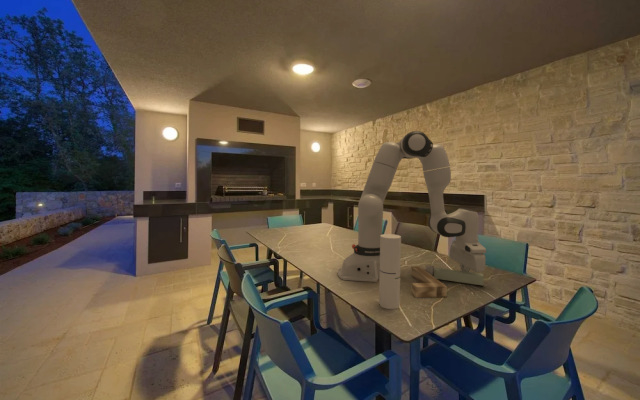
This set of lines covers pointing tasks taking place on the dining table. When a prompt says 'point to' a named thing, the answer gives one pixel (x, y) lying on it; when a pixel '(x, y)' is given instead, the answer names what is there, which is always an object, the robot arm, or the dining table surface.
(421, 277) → the l-shaped wooden joint
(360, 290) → the dining table surface
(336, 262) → the dining table surface
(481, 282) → the folding leg
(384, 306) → the cylindrical container
